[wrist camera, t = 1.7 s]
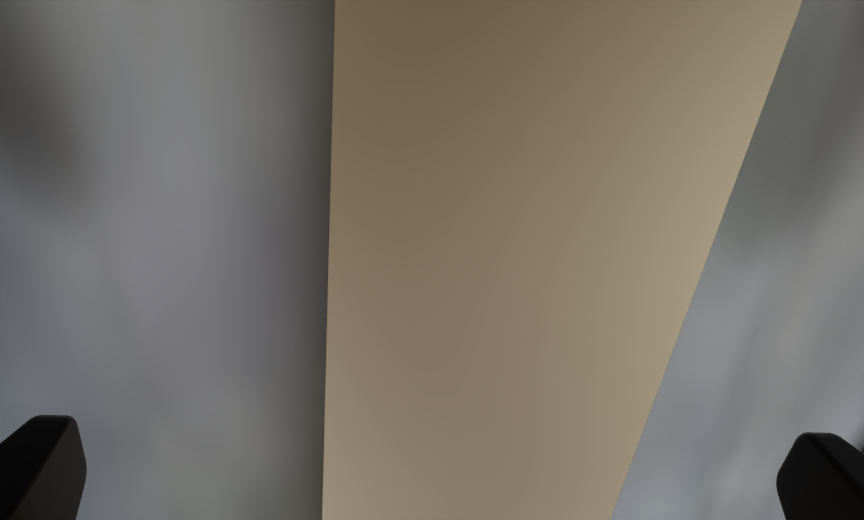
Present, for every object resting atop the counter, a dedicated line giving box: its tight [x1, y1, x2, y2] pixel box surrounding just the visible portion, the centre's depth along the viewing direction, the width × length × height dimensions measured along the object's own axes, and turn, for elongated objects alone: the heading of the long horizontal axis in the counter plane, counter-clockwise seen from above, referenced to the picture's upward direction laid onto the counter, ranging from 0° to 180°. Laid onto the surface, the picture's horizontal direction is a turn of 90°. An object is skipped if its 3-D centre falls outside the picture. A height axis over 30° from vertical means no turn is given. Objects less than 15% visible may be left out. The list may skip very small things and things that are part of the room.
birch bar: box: [322, 0, 803, 520], centre depth 9 cm, size 3×20×4 cm, turn 174°
